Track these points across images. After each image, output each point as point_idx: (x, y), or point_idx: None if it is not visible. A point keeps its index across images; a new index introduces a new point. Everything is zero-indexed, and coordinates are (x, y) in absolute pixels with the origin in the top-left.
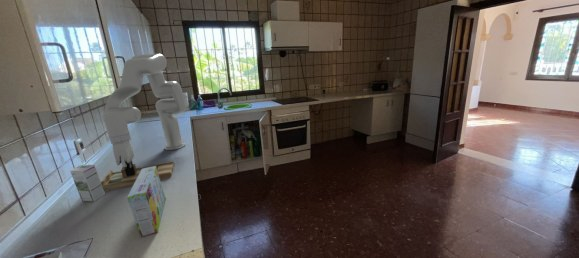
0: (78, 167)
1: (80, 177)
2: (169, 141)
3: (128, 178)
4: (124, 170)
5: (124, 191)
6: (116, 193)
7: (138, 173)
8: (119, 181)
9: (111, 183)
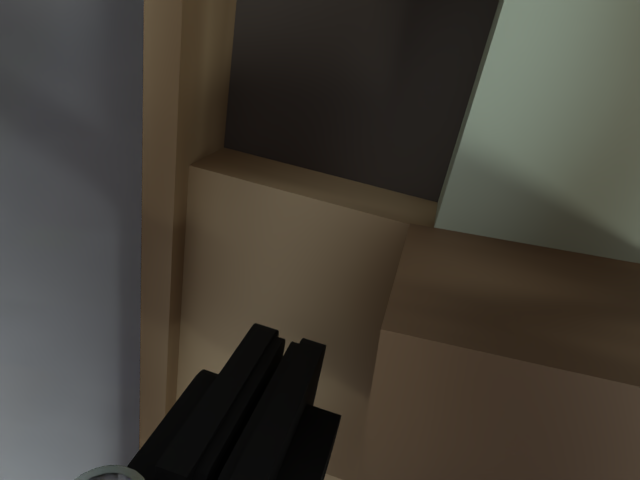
0: None
1: None
2: None
3: (303, 298)
4: (373, 380)
5: (52, 186)
6: (35, 86)
7: None
8: (463, 115)
9: (177, 12)
